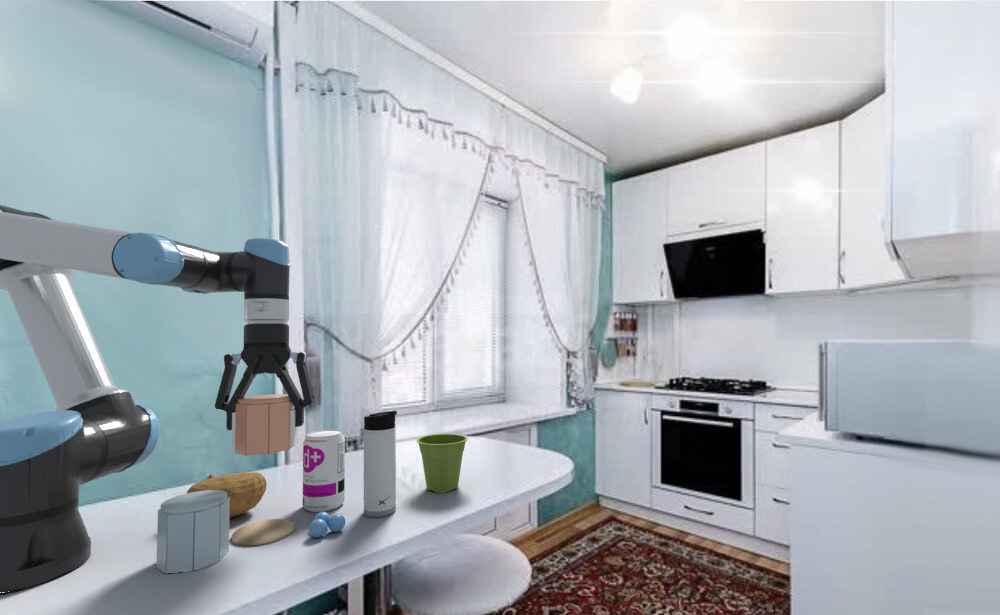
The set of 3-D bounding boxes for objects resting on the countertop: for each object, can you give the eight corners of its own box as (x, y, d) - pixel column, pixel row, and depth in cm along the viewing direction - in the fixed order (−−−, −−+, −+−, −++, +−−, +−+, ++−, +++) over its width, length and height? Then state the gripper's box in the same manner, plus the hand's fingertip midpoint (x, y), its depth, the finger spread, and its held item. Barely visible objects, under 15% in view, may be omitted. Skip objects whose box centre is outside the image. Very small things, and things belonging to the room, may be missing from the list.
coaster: (222, 548, 77) (222, 544, 77) (244, 524, 87) (244, 521, 87) (285, 542, 79) (285, 539, 79) (300, 520, 89) (300, 516, 89)
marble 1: (311, 533, 83) (311, 516, 83) (315, 526, 86) (315, 510, 86) (329, 531, 83) (329, 514, 83) (332, 525, 86) (332, 508, 86)
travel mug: (389, 518, 89) (388, 413, 90) (357, 516, 90) (358, 413, 91) (402, 506, 95) (402, 408, 96) (372, 505, 96) (372, 408, 97)
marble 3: (326, 535, 82) (326, 518, 82) (329, 528, 85) (329, 512, 85) (344, 534, 82) (344, 516, 82) (346, 527, 85) (346, 510, 85)
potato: (188, 514, 93) (189, 474, 93) (267, 503, 99) (267, 465, 99) (178, 533, 84) (179, 488, 84) (265, 519, 90) (265, 477, 90)
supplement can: (319, 516, 91) (320, 439, 92) (294, 508, 95) (294, 434, 96) (352, 503, 98) (353, 431, 98) (327, 496, 102) (327, 427, 103)
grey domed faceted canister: (146, 576, 69) (147, 512, 69) (177, 548, 77) (178, 492, 78) (212, 569, 70) (213, 507, 71) (235, 543, 79) (236, 488, 80)
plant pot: (477, 489, 105) (477, 439, 106) (430, 500, 98) (430, 447, 99) (453, 476, 115) (452, 431, 115) (408, 486, 108) (408, 437, 109)
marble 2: (307, 541, 80) (307, 523, 80) (311, 533, 82) (311, 516, 83) (325, 539, 80) (325, 521, 80) (328, 532, 83) (328, 515, 83)
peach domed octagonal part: (228, 456, 79) (229, 401, 79) (248, 444, 88) (248, 395, 88) (285, 453, 80) (285, 399, 81) (298, 441, 89) (298, 393, 90)
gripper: (192, 323, 80) (190, 455, 78) (324, 321, 84) (324, 447, 82) (211, 324, 87) (209, 445, 86) (332, 322, 91) (331, 438, 90)
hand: (265, 446), depth 84 cm, fingers closed on peach domed octagonal part, 9 cm apart
